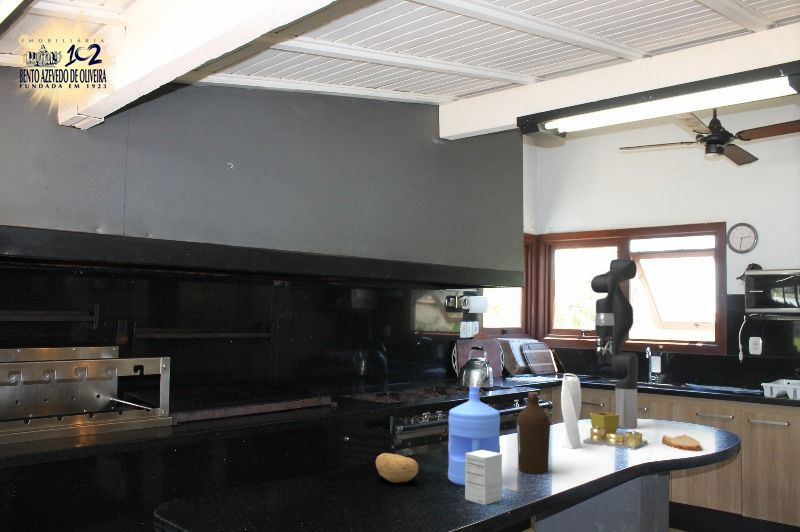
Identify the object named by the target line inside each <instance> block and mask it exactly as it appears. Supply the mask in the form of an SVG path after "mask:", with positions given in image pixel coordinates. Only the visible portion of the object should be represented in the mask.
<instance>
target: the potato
mask: <svg viewBox="0 0 800 532" xmlns="http://www.w3.org/2000/svg"><path fill="white" fill-rule="evenodd" d="M375 467H376V469H377V472H378V474H379V475H380V476H381V477H383V478H384V479H385V480H386V481H388V482H390V483H408V482H409V481H411V480H412V479H414V477H415V476H416V475H417V474H418V473H419V472H418V471H419V464H418V462H416V460H415V459H413V458H411V457H406V456H404V455H401V454H394V453H389V452H388V453H387V452H384V453H381V454H379V455H378V456H376V460H375Z"/></svg>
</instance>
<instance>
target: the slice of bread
mask: <svg viewBox="0 0 800 532" xmlns="http://www.w3.org/2000/svg"><path fill="white" fill-rule="evenodd" d="M661 444H663V445H664V444H665V445H664V446H666V445H667V446H666V447H669V446H670V448H672V447H673V449H676V448H677V450H682V451H689V452H702V451H703V449H702V446H701V444H700V442H699V441H698V440H696V439H694V438H693V437H691V436H689V435H687V434H682V435H678V436H675V437H670V436H667V435H663V437H662V439H661Z"/></svg>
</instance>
